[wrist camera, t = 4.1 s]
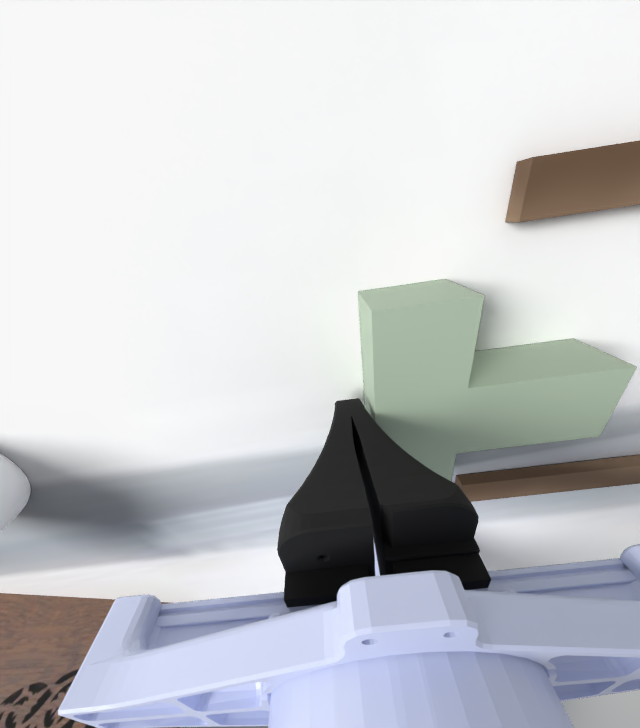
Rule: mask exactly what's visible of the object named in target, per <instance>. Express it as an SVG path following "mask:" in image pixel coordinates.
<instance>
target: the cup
mask: <svg viewBox="0 0 640 728" xmlns="http://www.w3.org/2000/svg"><path fill="white" fill-rule="evenodd" d="M30 492H31V487H30V483H29V481H28V479H27V477H26V475H25V474H24V473H23V471H22V470H21V469H20V468H19V467H18V466H17V465H16V464H14V463H13V462H12V461H11V460H9V459H8V458H7V457H5V456H4V455H2V454H1V453H0V533H1V532H2V531H3V530H4V529H5V528H6V527H7V526H8V525H9V524H10V523H11V522H12V521H13V520H14V518H15V517H16V516H17V515H18V514H19V513H20V512H21V511H22V509H23V508H24V507H25V506H26V504H27V502H28V500H29V497H30Z"/></svg>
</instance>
